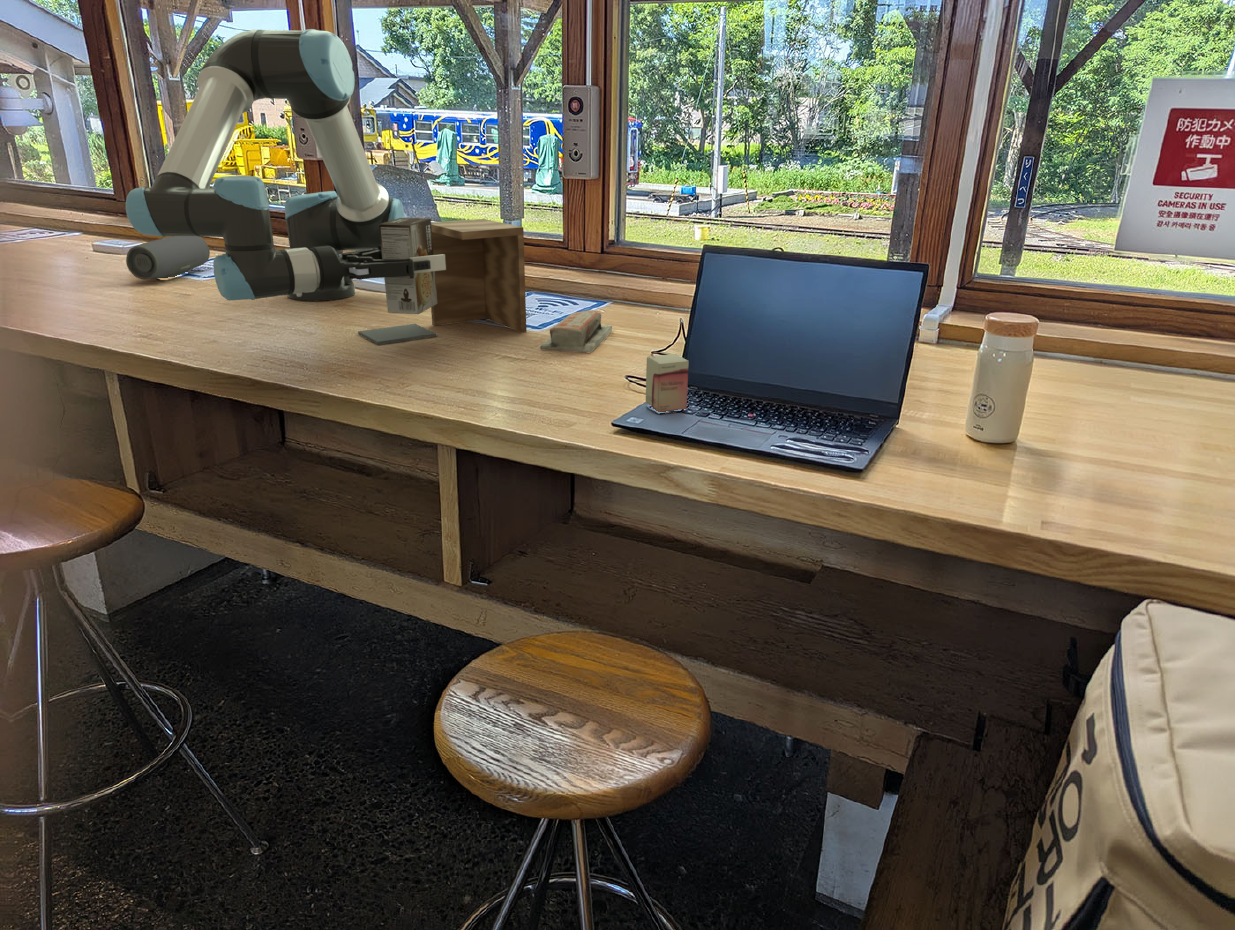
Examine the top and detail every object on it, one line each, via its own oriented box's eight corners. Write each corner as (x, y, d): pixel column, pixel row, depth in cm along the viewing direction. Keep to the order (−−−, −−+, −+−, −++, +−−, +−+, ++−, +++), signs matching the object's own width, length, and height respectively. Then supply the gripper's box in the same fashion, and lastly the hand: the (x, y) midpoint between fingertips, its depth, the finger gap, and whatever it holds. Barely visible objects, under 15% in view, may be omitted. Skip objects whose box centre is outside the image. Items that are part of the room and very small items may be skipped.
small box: (657, 415, 127) (658, 363, 124) (644, 407, 131) (645, 356, 128) (687, 411, 129) (689, 360, 126) (674, 403, 132) (676, 353, 129)
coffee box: (407, 302, 167) (399, 216, 161) (438, 304, 166) (432, 218, 160) (386, 313, 159) (377, 223, 153) (419, 315, 158) (411, 224, 151)
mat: (358, 334, 170) (358, 331, 170) (415, 326, 177) (415, 323, 177) (377, 344, 163) (377, 341, 162) (436, 336, 169) (436, 333, 169)
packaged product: (591, 329, 157) (539, 326, 159) (592, 355, 159) (540, 352, 161) (613, 309, 174) (565, 306, 176) (613, 332, 176) (565, 330, 177)
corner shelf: (432, 324, 178) (424, 222, 171) (488, 317, 185) (483, 218, 178) (468, 340, 166) (462, 231, 159) (526, 331, 174) (523, 227, 166)
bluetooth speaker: (182, 269, 236) (176, 231, 232) (214, 270, 235) (208, 232, 231) (128, 284, 215) (119, 243, 211) (162, 285, 214) (154, 244, 210)
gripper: (295, 280, 159) (408, 268, 171) (338, 303, 142) (460, 288, 154) (289, 238, 156) (405, 229, 168) (333, 257, 139) (458, 245, 151)
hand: (431, 257), depth 161 cm, fingers closed on coffee box, 10 cm apart
